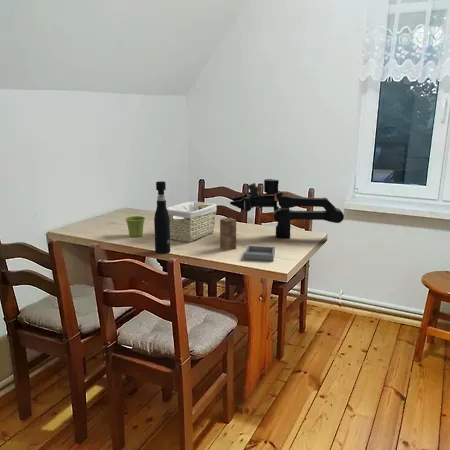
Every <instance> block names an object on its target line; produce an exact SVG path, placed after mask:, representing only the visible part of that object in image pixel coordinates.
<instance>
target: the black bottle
mask: <svg viewBox="0 0 450 450" xmlns="http://www.w3.org/2000/svg"><path fill="white" fill-rule="evenodd" d="M166 187H167V185H166V181H164V180H163V181H162V180H161V181H160V180H159V181H156V182H155V188H156V191H157V200H156V209H155V212H154V217H153V218H154V219H153V221H154V223H153V225H154V250H155V253H156V254H159V255H165V254H169V253H171V239H170V218H169V214H168V211H167V208H168V207H167V201H166V196H165V191H166Z"/></svg>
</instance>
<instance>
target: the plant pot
mask: <svg viewBox="0 0 450 450" xmlns="http://www.w3.org/2000/svg"><path fill="white" fill-rule="evenodd" d="M124 220H125V221H126V224H127V229H128V235H129V237H130V238H140V237H142V236H143V233H144V224H145V220H146V217H145V216H140V215H134V216H127V217H126V218H125V219H124Z"/></svg>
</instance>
